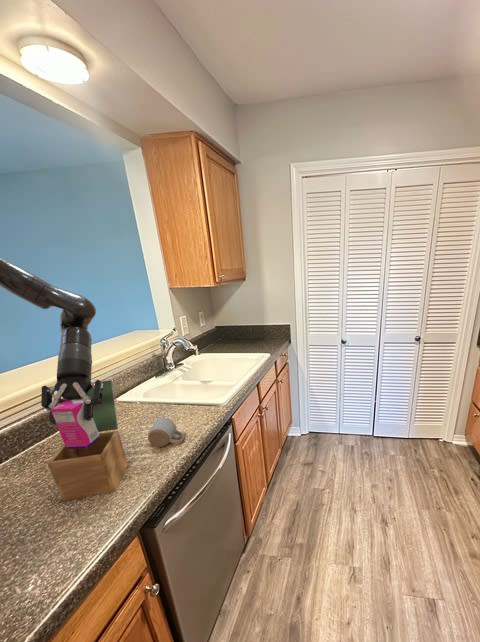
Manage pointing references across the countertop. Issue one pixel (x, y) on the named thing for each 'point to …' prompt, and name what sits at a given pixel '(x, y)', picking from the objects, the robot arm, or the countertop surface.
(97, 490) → the chest
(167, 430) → the ceramic mug
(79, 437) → the supplement box
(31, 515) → the countertop surface
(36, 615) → the countertop surface
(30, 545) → the countertop surface
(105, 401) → the lid
